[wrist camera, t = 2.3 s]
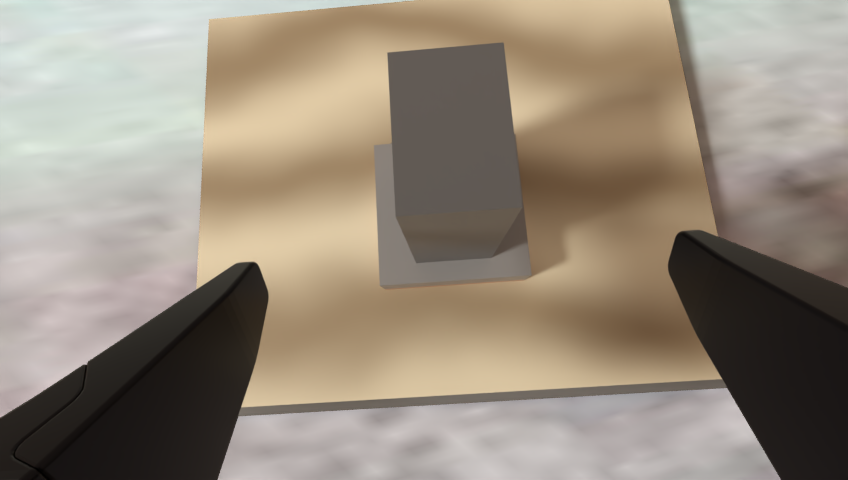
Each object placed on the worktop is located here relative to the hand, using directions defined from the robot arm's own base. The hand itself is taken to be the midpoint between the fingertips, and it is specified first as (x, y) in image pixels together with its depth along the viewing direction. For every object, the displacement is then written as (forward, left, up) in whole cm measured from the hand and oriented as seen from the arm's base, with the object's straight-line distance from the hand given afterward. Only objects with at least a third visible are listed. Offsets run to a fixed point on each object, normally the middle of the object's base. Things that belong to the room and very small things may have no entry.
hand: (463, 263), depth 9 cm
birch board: (+4, -4, -11) cm, 12 cm away
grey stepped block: (+2, -2, -10) cm, 10 cm away
